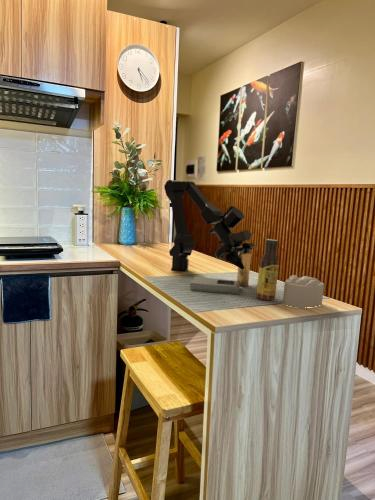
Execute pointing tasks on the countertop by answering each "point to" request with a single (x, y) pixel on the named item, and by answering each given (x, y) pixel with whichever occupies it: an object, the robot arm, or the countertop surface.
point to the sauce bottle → (268, 272)
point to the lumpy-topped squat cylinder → (303, 292)
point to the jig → (215, 285)
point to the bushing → (244, 274)
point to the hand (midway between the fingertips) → (247, 268)
